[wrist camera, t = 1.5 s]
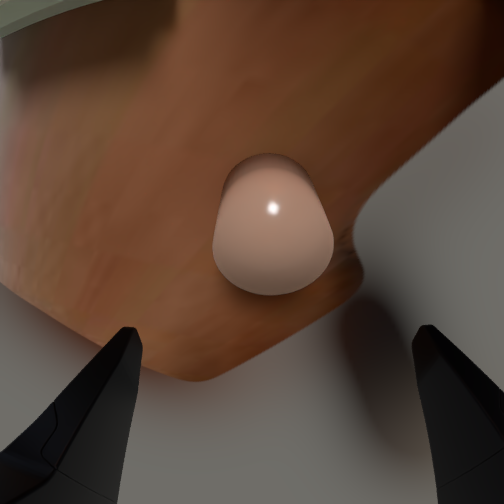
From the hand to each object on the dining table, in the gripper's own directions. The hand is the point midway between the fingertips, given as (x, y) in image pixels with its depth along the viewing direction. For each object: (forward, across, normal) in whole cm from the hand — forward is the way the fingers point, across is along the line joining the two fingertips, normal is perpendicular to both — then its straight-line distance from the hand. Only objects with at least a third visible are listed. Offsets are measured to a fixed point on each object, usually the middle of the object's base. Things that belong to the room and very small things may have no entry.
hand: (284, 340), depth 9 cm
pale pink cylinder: (+10, 0, 0) cm, 10 cm away
